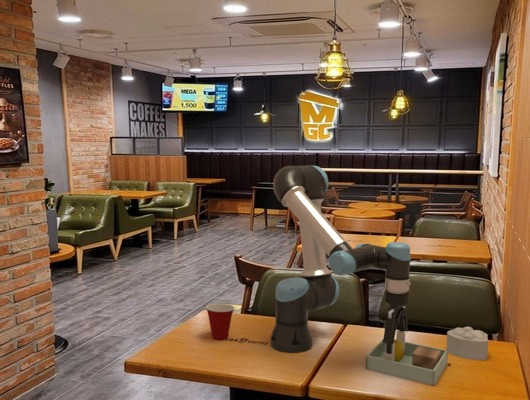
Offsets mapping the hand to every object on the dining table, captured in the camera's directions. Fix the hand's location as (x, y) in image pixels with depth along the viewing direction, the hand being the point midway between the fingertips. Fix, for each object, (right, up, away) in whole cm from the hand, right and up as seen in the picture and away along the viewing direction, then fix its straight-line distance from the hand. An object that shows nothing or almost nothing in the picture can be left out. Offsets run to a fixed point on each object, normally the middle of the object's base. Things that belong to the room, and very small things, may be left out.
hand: (395, 356), depth 162 cm
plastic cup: (-59, -1, +24) cm, 64 cm away
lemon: (0, -2, 0) cm, 3 cm away
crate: (+3, -3, -2) cm, 5 cm away
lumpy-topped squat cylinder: (+27, -2, +9) cm, 29 cm away
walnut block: (+9, -3, -5) cm, 10 cm away
